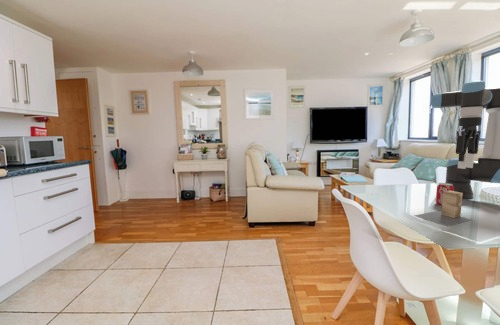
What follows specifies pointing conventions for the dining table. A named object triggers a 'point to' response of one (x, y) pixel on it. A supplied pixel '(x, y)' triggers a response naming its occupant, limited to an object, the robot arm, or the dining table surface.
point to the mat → (442, 218)
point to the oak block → (451, 204)
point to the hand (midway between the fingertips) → (465, 167)
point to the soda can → (441, 189)
